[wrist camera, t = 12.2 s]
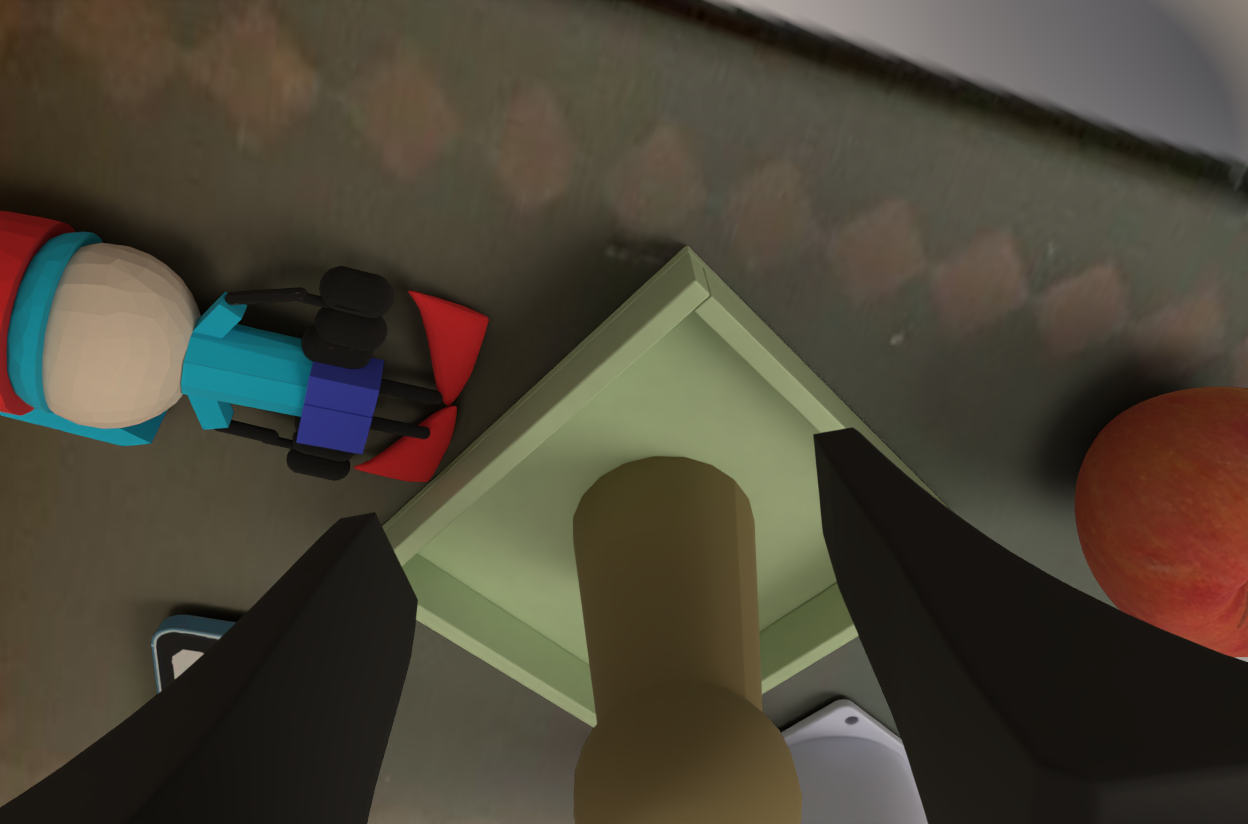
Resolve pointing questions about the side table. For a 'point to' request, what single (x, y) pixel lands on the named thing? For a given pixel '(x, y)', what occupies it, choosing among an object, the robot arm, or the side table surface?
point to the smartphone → (183, 644)
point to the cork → (675, 654)
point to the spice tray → (607, 438)
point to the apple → (1173, 514)
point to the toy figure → (212, 354)
